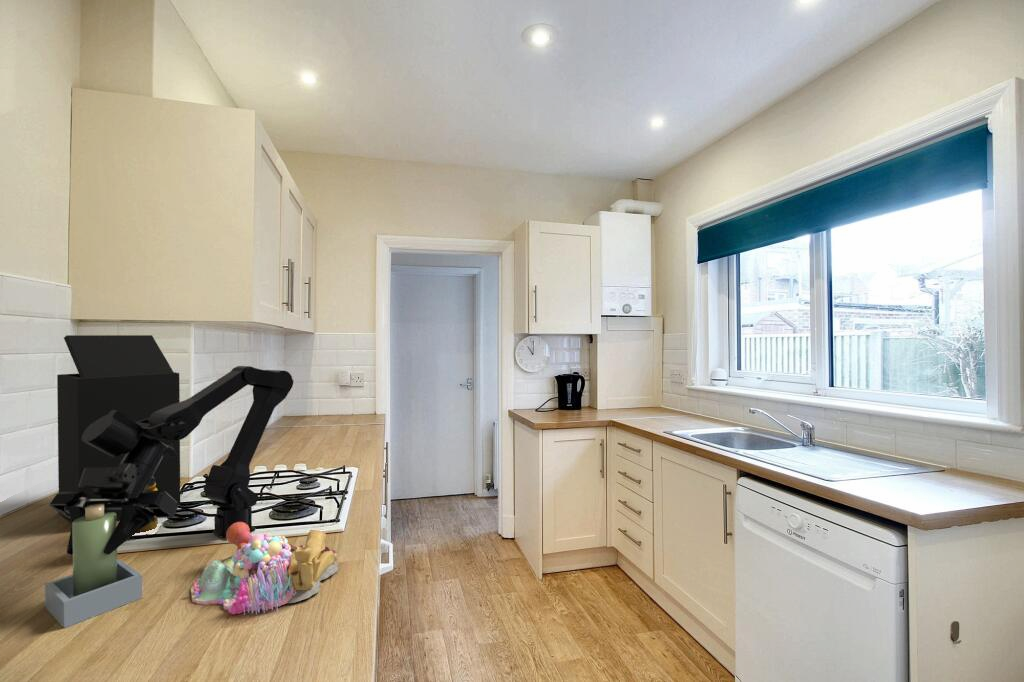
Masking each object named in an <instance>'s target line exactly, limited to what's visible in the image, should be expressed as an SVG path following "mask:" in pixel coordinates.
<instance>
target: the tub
mask: <svg viewBox="0 0 1024 682" xmlns="http://www.w3.org/2000/svg"><path fill="white" fill-rule="evenodd" d="M141 599H143V574H141V573H140V572H139V571H137V570H136V569H134V568H133V567H131V566H130V565H129V564H127V563H126V562H124V561H123V560H122V559H117V582H115V583H112V584H109V585H106V586H103V587H101V588H98V589H95V590H92V591H89V592H86V593H84V594H81V595H78V596H74V595H73V574H71V575H70V574H69V575H68V576H65V577H61V578H58V579H55V580H52V581H49V582H46V583H44V601H45V604H44V607H45V609H46V610H47V611H48V612H49V613H50V614H51V615H52V616H53V618H54V619H55V620H56V621H57V622H58V623H59V624H60V625H61V626H62V627H63V628H64V629H65V628H68V627H71V626H73V625H76V624H79V623H82V622H83V621H86V620H89V619H91V618H93V617H96V616H99V615H102V614H104V613H107V612H110V611H112V610H114V609H117V608H120V607H122V606H125V605H127V604H130V603H133V602H134V601H138V600H141Z"/></svg>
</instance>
